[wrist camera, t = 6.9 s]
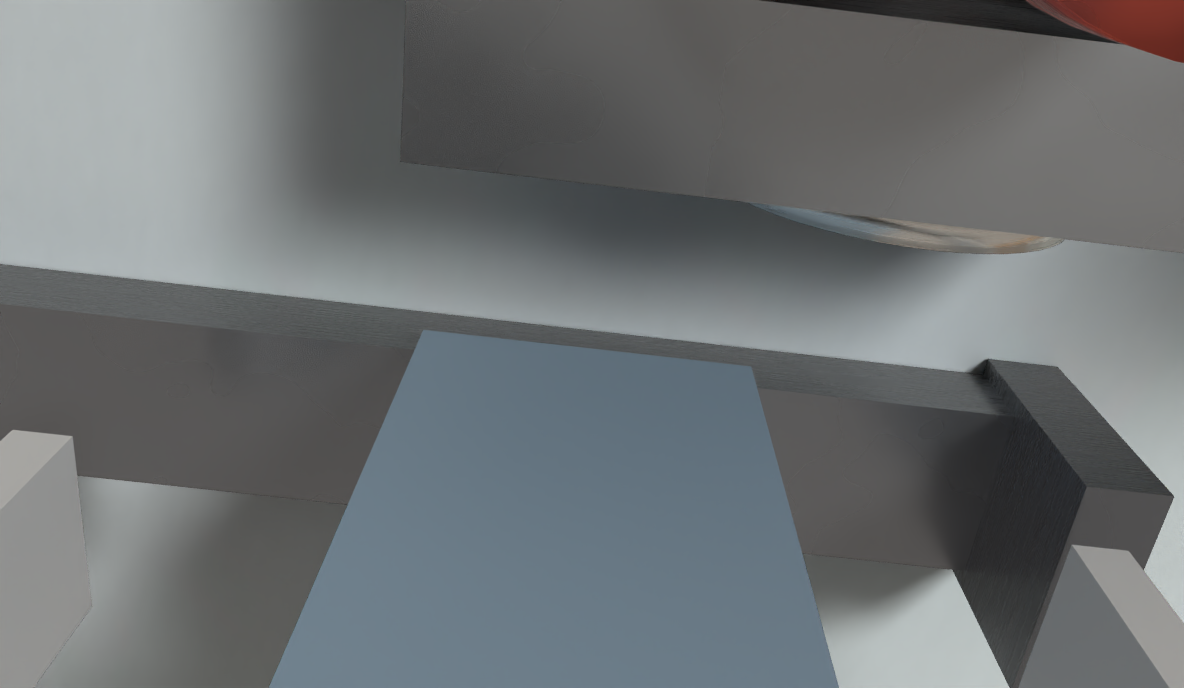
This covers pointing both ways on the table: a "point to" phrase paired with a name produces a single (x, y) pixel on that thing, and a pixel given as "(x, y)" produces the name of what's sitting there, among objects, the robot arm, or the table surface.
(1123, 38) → the plunger
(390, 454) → the carriage
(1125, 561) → the robot arm
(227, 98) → the table surface
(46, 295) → the rail
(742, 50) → the grey block with hole
